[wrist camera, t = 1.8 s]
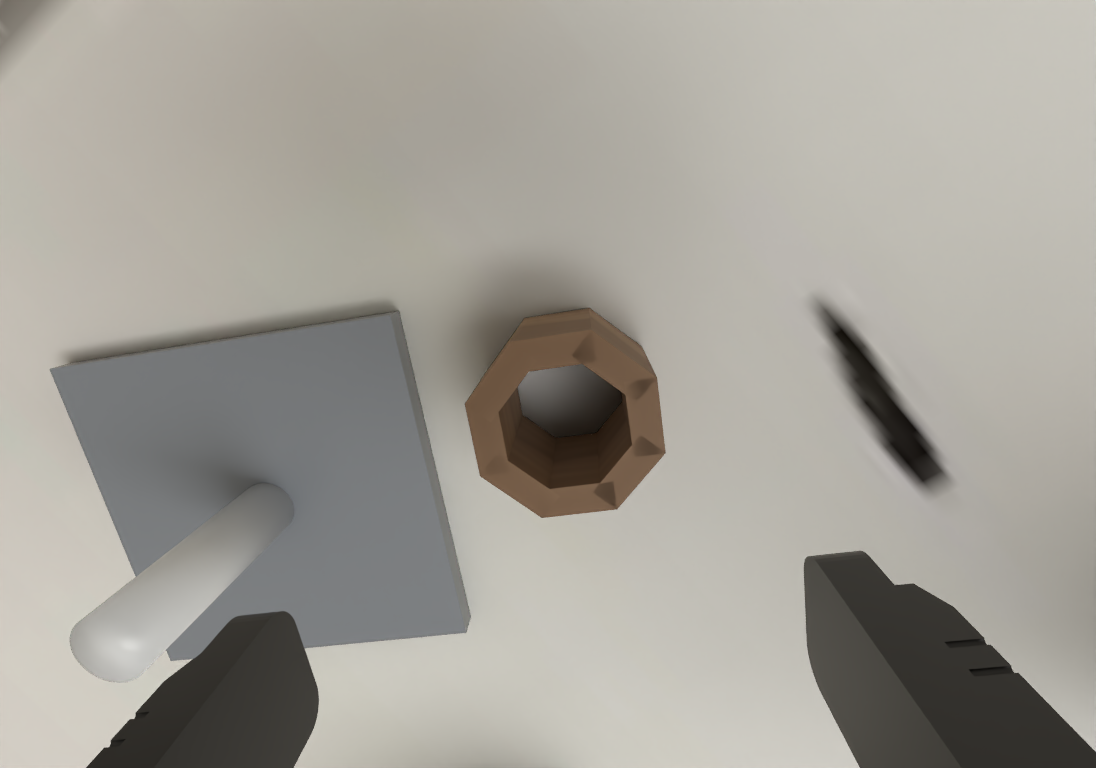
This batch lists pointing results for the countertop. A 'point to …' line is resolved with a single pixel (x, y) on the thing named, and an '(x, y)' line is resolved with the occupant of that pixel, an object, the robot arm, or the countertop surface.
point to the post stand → (264, 492)
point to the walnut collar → (576, 461)
